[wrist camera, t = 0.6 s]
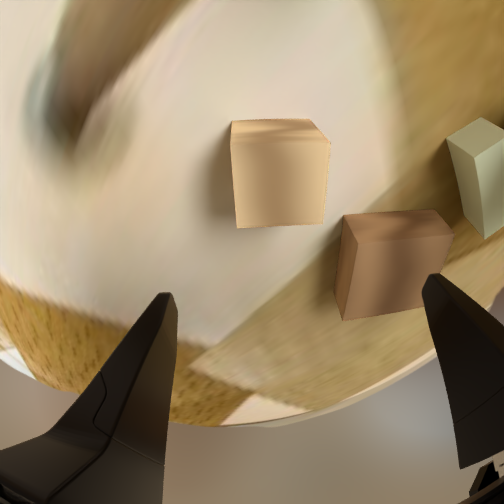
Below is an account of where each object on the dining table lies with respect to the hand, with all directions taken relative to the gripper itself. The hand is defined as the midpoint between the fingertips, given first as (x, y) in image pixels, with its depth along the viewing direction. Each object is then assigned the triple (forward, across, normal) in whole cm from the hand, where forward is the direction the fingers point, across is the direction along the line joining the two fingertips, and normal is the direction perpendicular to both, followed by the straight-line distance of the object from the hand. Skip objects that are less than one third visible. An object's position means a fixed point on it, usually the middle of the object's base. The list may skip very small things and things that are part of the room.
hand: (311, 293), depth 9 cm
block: (+13, -18, +1) cm, 22 cm away
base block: (+13, -10, +10) cm, 19 cm away
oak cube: (+13, 0, 0) cm, 13 cm away
